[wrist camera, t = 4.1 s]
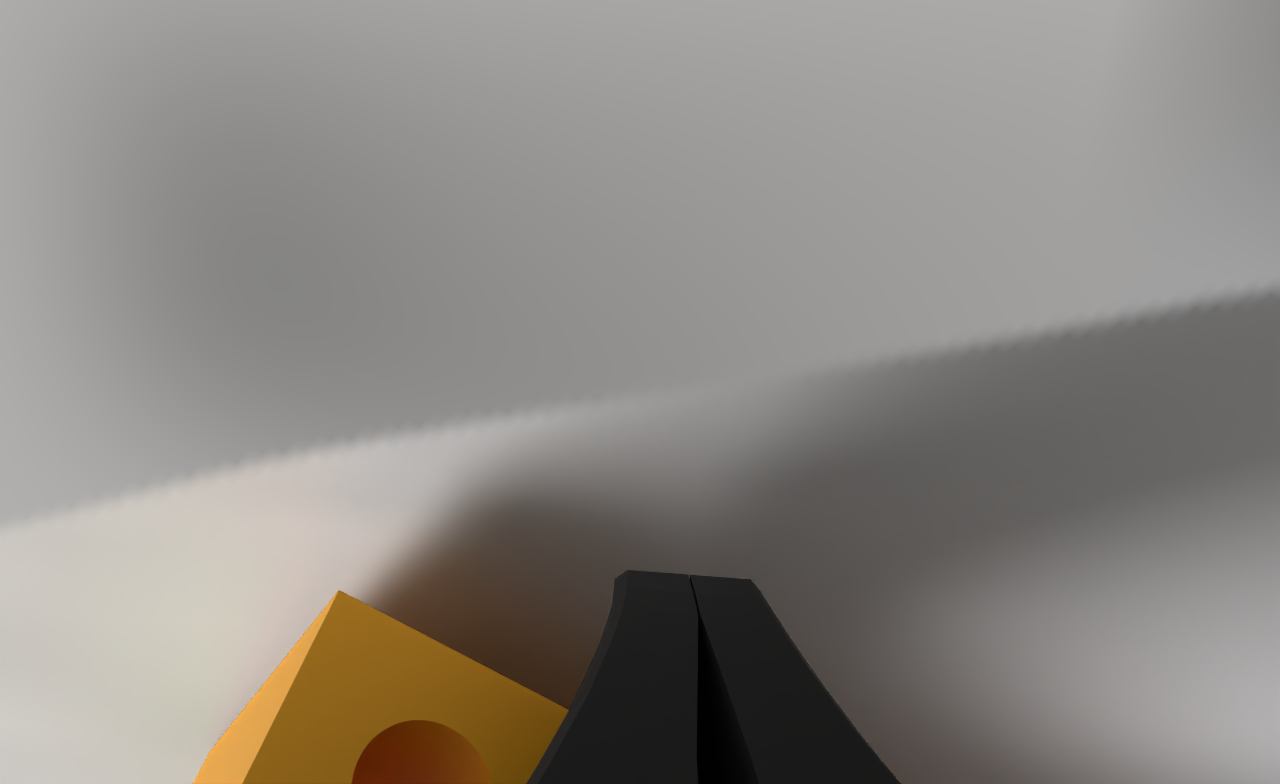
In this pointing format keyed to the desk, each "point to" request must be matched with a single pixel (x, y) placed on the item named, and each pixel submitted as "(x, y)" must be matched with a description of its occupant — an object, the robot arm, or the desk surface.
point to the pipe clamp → (382, 712)
